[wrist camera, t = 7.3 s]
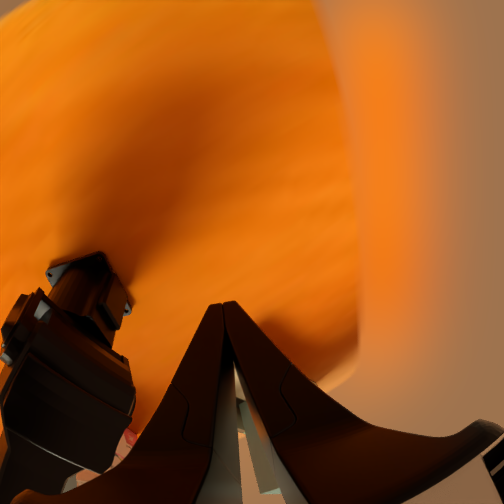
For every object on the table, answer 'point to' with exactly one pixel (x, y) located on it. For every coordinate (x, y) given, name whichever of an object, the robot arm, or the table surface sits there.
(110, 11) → the table surface
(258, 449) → the block
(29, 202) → the table surface
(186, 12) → the table surface
